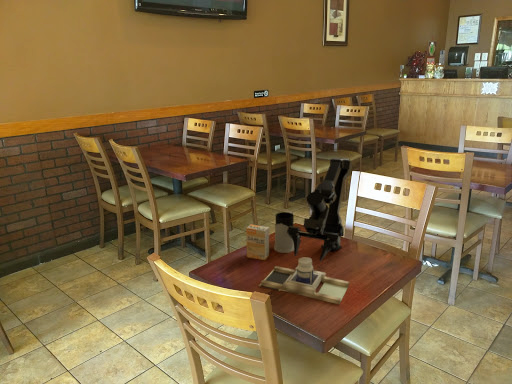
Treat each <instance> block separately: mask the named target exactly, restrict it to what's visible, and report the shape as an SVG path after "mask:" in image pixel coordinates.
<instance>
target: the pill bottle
mask: <svg viewBox="0 0 512 384" xmlns="http://www.w3.org/2000/svg"><path fill="white" fill-rule="evenodd" d="M297 261H298V264H297V266H296V267H297V280H296V282H300V283H305V284H309V285H312V284H313V283H314V280H313V270H314V265H313V260H312V258H311V257H305V256H303V257H300V258H298V260H297Z"/></svg>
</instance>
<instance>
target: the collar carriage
mask: <svg viewBox="0 0 512 384" xmlns="http://www.w3.org/2000/svg"><path fill="white" fill-rule="evenodd" d="M287 282H291V283H295V284H300V285H304V286H308V287H313V288H316V289H317V288H318V287H319V285H320V284H321V274H317V273H313V284H312V285H309V284H305V283H300V282H297V270H296V272H295V273H294V274H293V275H292V276H291V278H290V279H289V280H288V281H287Z"/></svg>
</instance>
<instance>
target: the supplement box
mask: <svg viewBox="0 0 512 384" xmlns="http://www.w3.org/2000/svg"><path fill="white" fill-rule="evenodd" d="M245 230H246V258H247V259H248V258H249V259H255V260H261V261H266V260H267V259H268V258H269V256H270V255H269V254H270V227H269V226H266V225H265V226H264V225H257V224H252V223H250V224H249V225H248V226H246V229H245Z"/></svg>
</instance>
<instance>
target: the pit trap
mask: <svg viewBox="0 0 512 384" xmlns="http://www.w3.org/2000/svg"><path fill="white" fill-rule="evenodd" d="M291 277H292V274H287V273H282V272H278V271H274V269H272V270H271V272H270V273H269V274H268V275H267V276H266V277H265V278H264V279H263V280H266V281H270V282H274V283H279V284H283V283H284V282H285V281H286V282H288V280H289V279H290V278H291ZM258 286H259V287H262V288H266V289H270V290H273V291H279V292H281V290H280V289H275V288H271V287H267V286H263V285H261V283H260V284H259V285H258Z"/></svg>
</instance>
